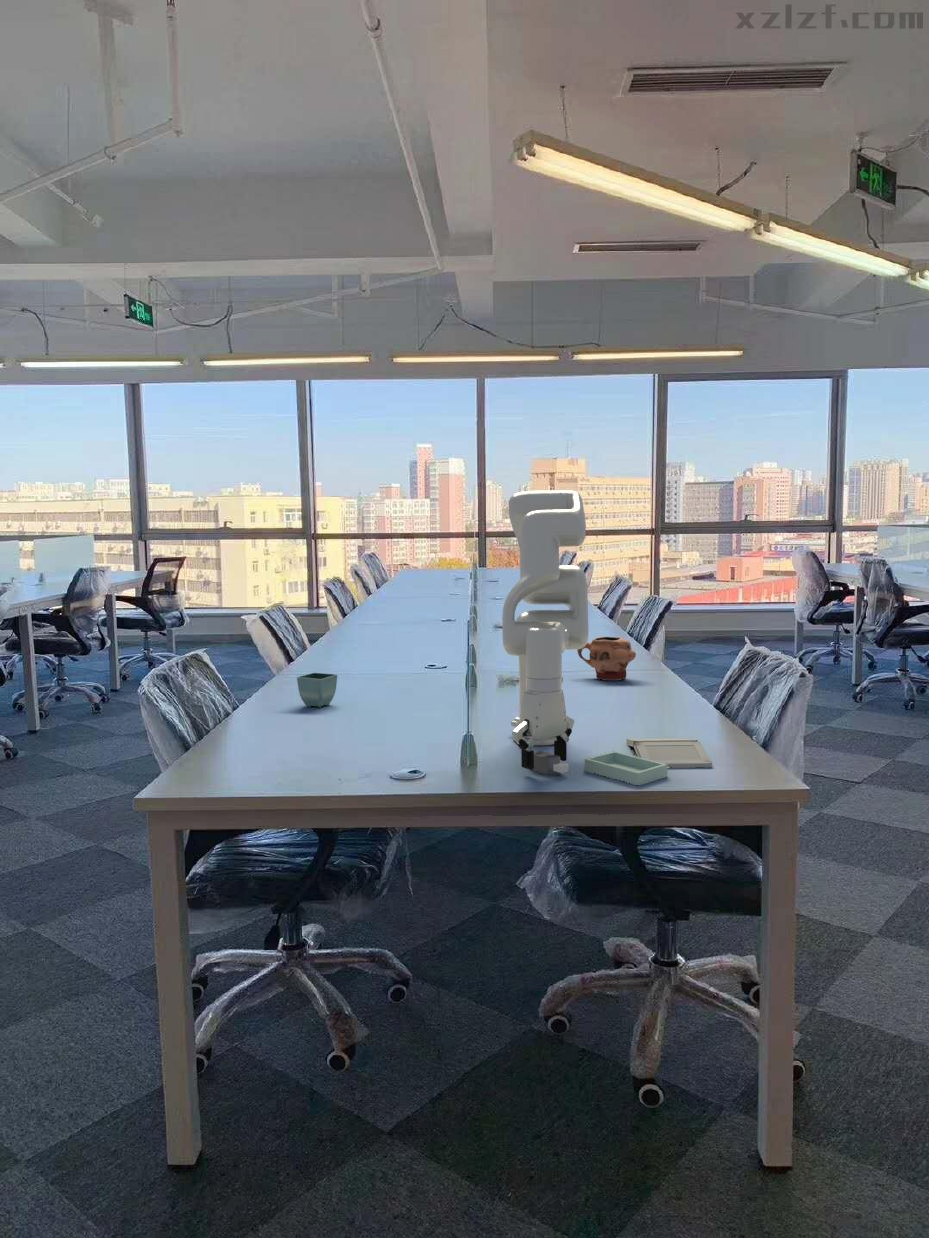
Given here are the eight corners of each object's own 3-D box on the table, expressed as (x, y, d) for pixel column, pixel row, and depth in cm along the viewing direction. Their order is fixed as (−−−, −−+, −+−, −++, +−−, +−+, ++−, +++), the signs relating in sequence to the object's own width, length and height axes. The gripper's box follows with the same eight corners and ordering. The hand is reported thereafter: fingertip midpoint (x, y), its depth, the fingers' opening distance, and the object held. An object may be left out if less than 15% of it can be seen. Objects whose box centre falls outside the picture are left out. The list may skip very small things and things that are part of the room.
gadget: (625, 744, 212) (625, 729, 212) (688, 743, 212) (688, 728, 212) (642, 771, 190) (642, 754, 189) (713, 770, 189) (713, 753, 189)
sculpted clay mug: (572, 680, 294) (572, 638, 292) (581, 674, 305) (581, 634, 304) (632, 683, 286) (632, 641, 285) (639, 677, 298) (639, 636, 296)
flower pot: (339, 703, 262) (338, 673, 261) (322, 709, 254) (321, 678, 253) (314, 701, 265) (313, 672, 264) (296, 707, 257) (295, 677, 256)
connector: (525, 768, 191) (525, 752, 190) (536, 765, 193) (536, 749, 192) (559, 778, 183) (559, 761, 182) (570, 775, 185) (570, 759, 184)
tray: (584, 770, 188) (584, 758, 188) (614, 762, 194) (614, 751, 194) (637, 785, 177) (638, 773, 177) (667, 776, 183) (667, 764, 183)
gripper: (559, 677, 195) (560, 753, 197) (501, 687, 184) (502, 768, 186) (585, 681, 189) (585, 760, 191) (526, 692, 178) (526, 775, 180)
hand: (544, 763), depth 188 cm, fingers open, 9 cm apart
